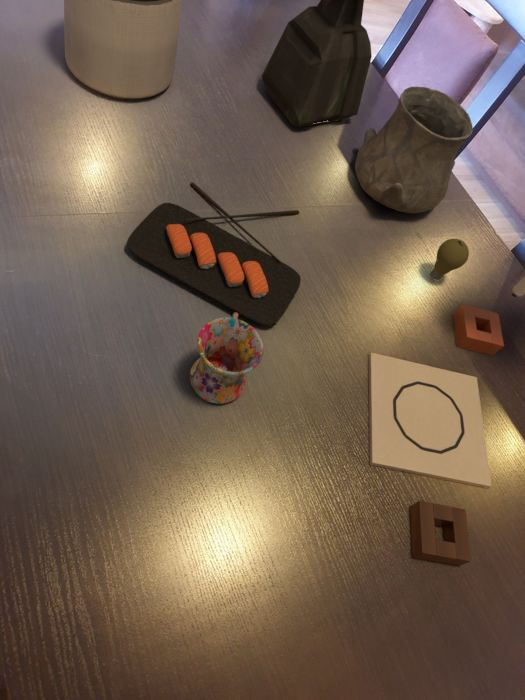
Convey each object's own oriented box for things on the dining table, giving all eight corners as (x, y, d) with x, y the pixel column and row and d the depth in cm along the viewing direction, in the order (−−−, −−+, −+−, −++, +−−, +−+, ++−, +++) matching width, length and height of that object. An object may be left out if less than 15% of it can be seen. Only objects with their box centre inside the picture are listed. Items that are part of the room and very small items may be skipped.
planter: (185, 63, 127) (200, -32, 111) (153, 118, 115) (164, 19, 98) (90, 26, 125) (91, -76, 109) (46, 78, 113) (40, -29, 96)
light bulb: (415, 273, 110) (441, 239, 102) (431, 262, 113) (457, 228, 105) (436, 293, 109) (464, 259, 101) (451, 281, 112) (480, 247, 104)
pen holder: (487, 323, 108) (498, 313, 105) (492, 355, 104) (504, 346, 101) (452, 315, 107) (462, 304, 104) (456, 347, 103) (467, 336, 100)
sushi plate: (118, 253, 94) (119, 237, 91) (203, 161, 112) (207, 145, 109) (270, 337, 93) (276, 324, 90) (332, 231, 111) (340, 217, 108)
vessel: (392, 145, 131) (435, 65, 115) (453, 211, 124) (509, 136, 108) (321, 162, 121) (358, 77, 105) (383, 236, 114) (433, 157, 97)
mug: (241, 415, 84) (258, 381, 76) (180, 400, 83) (191, 364, 74) (252, 349, 91) (269, 311, 83) (196, 334, 90) (208, 295, 81)
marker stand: (454, 514, 85) (465, 509, 82) (459, 566, 81) (471, 561, 78) (409, 506, 84) (419, 500, 81) (412, 557, 80) (422, 553, 77)
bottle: (317, 80, 137) (367, -56, 113) (354, 124, 132) (416, -9, 107) (255, 88, 129) (295, -57, 105) (292, 136, 123) (344, -6, 99)
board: (473, 379, 100) (477, 376, 99) (487, 488, 89) (492, 486, 88) (368, 355, 97) (371, 351, 96) (369, 464, 86) (372, 462, 85)
